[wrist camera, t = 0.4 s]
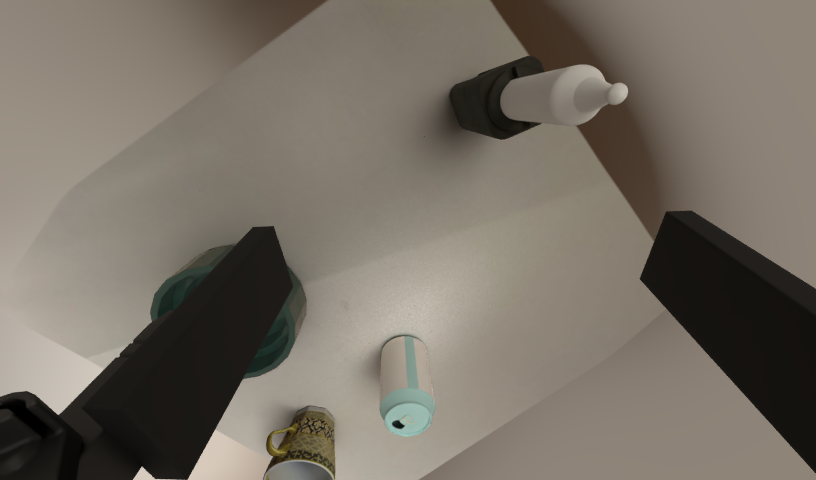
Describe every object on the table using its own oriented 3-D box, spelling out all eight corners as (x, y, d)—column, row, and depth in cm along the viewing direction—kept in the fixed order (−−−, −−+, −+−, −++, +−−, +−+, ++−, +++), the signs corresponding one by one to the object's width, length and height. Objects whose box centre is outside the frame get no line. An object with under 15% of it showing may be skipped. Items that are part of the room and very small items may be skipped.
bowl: (161, 255, 42) (123, 280, 36) (286, 233, 41) (269, 255, 35) (212, 353, 48) (187, 388, 42) (320, 334, 48) (311, 367, 42)
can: (419, 371, 52) (428, 443, 41) (377, 365, 51) (374, 437, 40) (431, 337, 49) (444, 404, 38) (386, 329, 48) (386, 396, 37)
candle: (489, 68, 35) (679, -3, 12) (502, 114, 37) (688, 127, 14) (446, 88, 36) (550, 56, 13) (461, 132, 38) (575, 173, 15)
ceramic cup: (354, 425, 56) (348, 489, 46) (307, 446, 57) (291, 512, 48) (311, 378, 51) (294, 438, 42) (260, 402, 52) (233, 465, 43)
